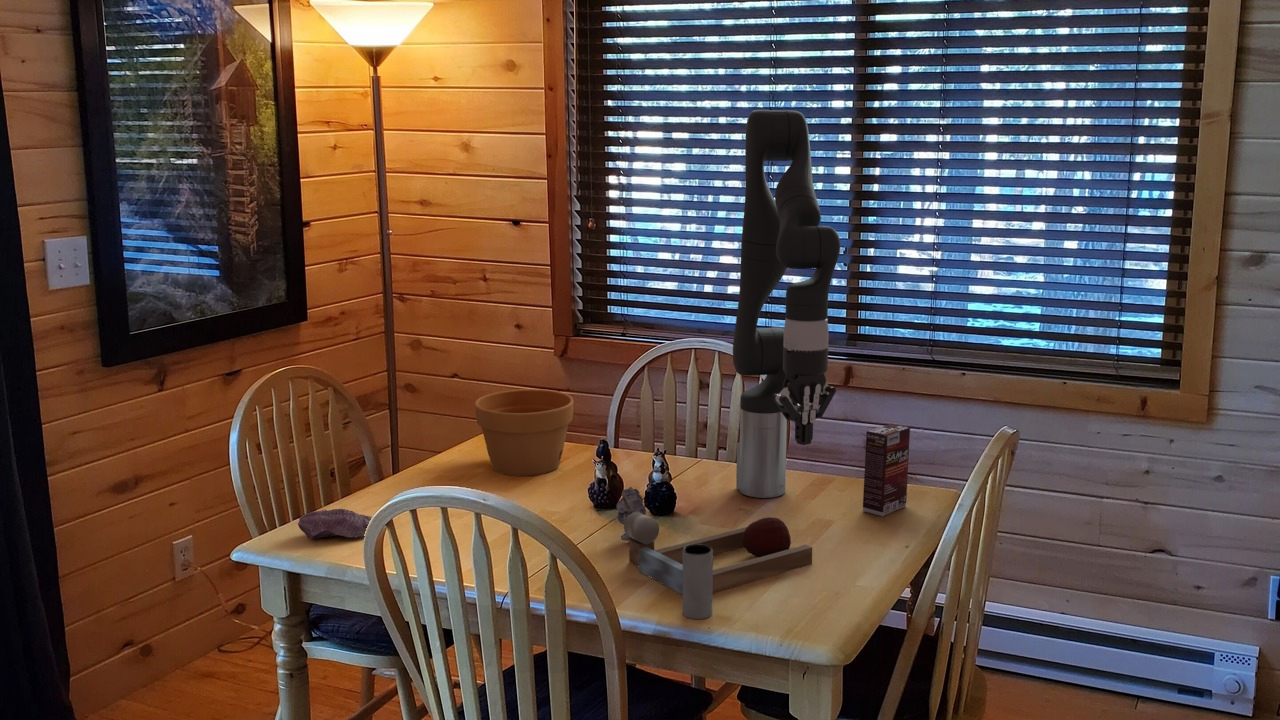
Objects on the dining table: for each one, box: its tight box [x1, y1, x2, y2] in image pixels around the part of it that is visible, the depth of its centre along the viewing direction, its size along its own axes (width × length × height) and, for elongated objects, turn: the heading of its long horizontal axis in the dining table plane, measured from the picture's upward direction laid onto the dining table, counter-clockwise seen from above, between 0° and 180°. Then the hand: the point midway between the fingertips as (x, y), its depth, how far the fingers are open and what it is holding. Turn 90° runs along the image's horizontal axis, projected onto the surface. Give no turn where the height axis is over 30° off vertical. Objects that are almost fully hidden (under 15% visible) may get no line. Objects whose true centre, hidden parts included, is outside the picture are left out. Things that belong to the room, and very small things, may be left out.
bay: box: [623, 512, 813, 595], centre depth 200 cm, size 19×26×8 cm
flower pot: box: [474, 388, 575, 477], centre depth 256 cm, size 21×21×15 cm
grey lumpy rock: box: [615, 486, 647, 542], centre depth 211 cm, size 5×5×10 cm
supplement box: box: [862, 423, 911, 517], centre depth 227 cm, size 9×5×16 cm, turn 136°
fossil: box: [297, 508, 373, 540], centre depth 215 cm, size 8×14×5 cm, turn 108°
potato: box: [742, 516, 792, 558], centre depth 203 cm, size 7×8×7 cm
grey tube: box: [681, 544, 714, 620], centre depth 180 cm, size 4×4×10 cm
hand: (803, 443), depth 205 cm, fingers closed
